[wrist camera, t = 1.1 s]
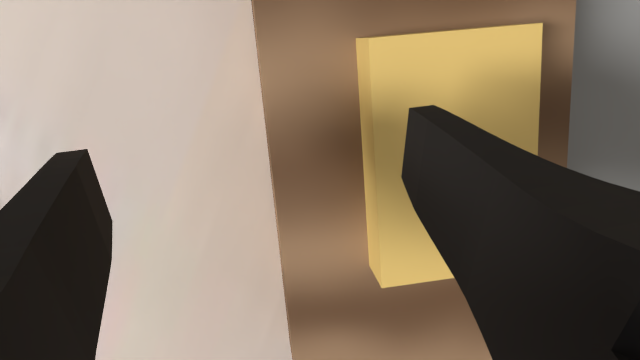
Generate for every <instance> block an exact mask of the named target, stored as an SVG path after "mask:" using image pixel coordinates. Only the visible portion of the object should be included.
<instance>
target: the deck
mask: <svg viewBox="0 0 640 360" xmlns="http://www.w3.org/2000/svg"><path fill="white" fill-rule="evenodd" d="M251 1H252V10H253V19H254V28H255V37H256V46H257V54H258V63H259V72H260V81H261V90H262V99H263V108H264V116H265V125H266V134H267V143H268V152H269V161H270V170H271V179H272V187H273V196H274V205H275V214H276V223H277V232H278V241H279V249H280V258H281V267H282V276H283V285H284V294H285V303H286V312H287V320H288V329H289V338H290V345H291V352H292V359H293V360H492V357H491V355H490V353H489V350H488V348H487V345H486V343H485V341H484V338H483V336H482V334H481V331H480V329H479V327H478V325H477V322H476V320H475V318H474V316H473V314H472V311H471V309H470V307H469V305H468V303H467V300H466V298H465V296H464V294H463V292H462V291H461V289H460V287H459V285H458V283H457V281H456V280H455V278H450V279H443V280H436V281H429V282H422V283H415V284H408V285H401V286H394V287H387V288H381V286H380V284H379V282H378V281H377V279H376V277H375V275H374V273H373V271H372V270H371V268H370V266H369V253H368V236H367V219H366V202H365V186H364V169H363V152H362V136H361V119H360V102H359V85H358V69H357V52H356V38H363V37H375V36H386V35H398V34H409V33H421V32H432V31H444V30H455V29H467V28H478V27H490V26H501V25H513V24H531V23H543V31H542V56H541V82H540V107H539V133H538V156H539V157H541V158H543V159H546V160H548V161H550V162H553V163H555V164H558V165H560V166H563V167H565V168H567V158H568V140H569V122H570V104H571V86H572V68H573V51H574V33H575V15H576V0H251Z"/></svg>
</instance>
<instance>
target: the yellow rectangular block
mask: <svg viewBox="0 0 640 360" xmlns="http://www.w3.org/2000/svg"><path fill="white" fill-rule="evenodd" d="M542 31H543V23H531V24H513V25H501V26H490V27H478V28H467V29H455V30H444V31H432V32H421V33H409V34H398V35H386V36H375V37H363V38H356V52H357V69H358V85H359V102H360V119H361V136H362V152H363V169H364V186H365V202H366V219H367V236H368V253H369V266H370V268H371V270H372V271H373V273H374V275H375V277H376V279H377V281H378V282H379V284H380V286H381V288H387V287H394V286H401V285H408V284H415V283H422V282H429V281H436V280H443V279H450V278H454V276H453V275H452V273H451V271H450V270H449V268H448V266H447V265H446V263H445V261H444V260H443V258H442V256H441V255H440V253H439V251H438V250H437V248H436V246H435V245H434V243H433V241H432V240H431V238H430V236H429V235H428V233H427V231H426V229H425V228H424V226H423V224H422V223H421V221H420V219H419V217H418V216H417V214H416V212H415V210H414V208H413V205H412V203H411V201H410V198H409V196H408V194H407V191H406V188H405V186H404V183H403V181H402V178H401V175H402V166H403V157H404V148H405V139H406V130H407V122H408V113H409V108H413V107H421V106H429V105H435V106H437V107H440V108H442V109H444V110H446V111H448V112H450V113H452V114H454V115H456V116H458V117H460V118H462V119H464V120H466V121H468V122H470V123H472V124H474V125H476V126H477V127H479V128H481V129H483V130H485V131H487V132H489V133H491V134H493V135H495V136H497V137H499V138H501V139H503V140H505V141H507V142H509V143H511V144H513V145H515V146H517V147H519V148H521V149H523V150H526V151H528V152H530V153H532V154H534V155H537V156H538V133H539V107H540V82H541V56H542Z"/></svg>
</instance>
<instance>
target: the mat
mask: <svg viewBox="0 0 640 360" xmlns="http://www.w3.org/2000/svg"><path fill="white" fill-rule="evenodd" d="M567 168H568V169H571V170H574V171H576V172H579V173H582V174H585V175H587V176H590V177H593V178H596V179H599V180H602V181H605V182H608V183H612V184H615V185H619V186H622V187H626V188H629V189H633V190H636V191H640V0H576V15H575V33H574V51H573V68H572V86H571V104H570V122H569V140H568V158H567Z"/></svg>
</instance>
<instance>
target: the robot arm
mask: <svg viewBox="0 0 640 360" xmlns="http://www.w3.org/2000/svg"><path fill="white" fill-rule="evenodd" d="M401 178H402V181H403V183H404V186H405V188H406V191H407V194H408V196H409V198H410V201H411V203H412V205H413V208H414V210H415V212H416V214H417V216H418V217H419V219H420V221H421V223H422V224H423V226H424V228H425V229H426V231H427V233H428V235H429V236H430V238H431V240H432V241H433V243H434V245H435V246H436V248H437V250H438V251H439V253H440V255H441V256H442V258H443V260H444V261H445V263H446V265H447V266H448V268H449V270H450V271H451V273H452V275H453V276H454V278H455V280H456V281H457V283H458V285H459V287H460V289H461V291H462V292H463V294H464V296H465V298H466V300H467V303H468V305H469V307H470V309H471V311H472V314H473V316H474V318H475V320H476V322H477V325H478V327H479V329H480V331H481V334H482V336H483V338H484V341H485V343H486V345H487V348H488V350H489V353H490V355H491V357H492V360H640V191H636V190H633V189H629V188H626V187H622V186H619V185H615V184H612V183H608V182H605V181H602V180H599V179H596V178H593V177H590V176H587V175H585V174H582V173H579V172H576V171H574V170H571V169H568V168H565V167H563V166H560V165H558V164H555V163H553V162H550V161H548V160H546V159H543V158H541V157H539V156H537V155H534V154H532V153H530V152H528V151H526V150H523V149H521V148H519V147H517V146H515V145H513V144H511V143H509V142H507V141H505V140H503V139H501V138H499V137H497V136H495V135H493V134H491V133H489V132H487V131H485V130H483V129H481V128H479V127H477V126H476V125H474V124H472V123H470V122H468V121H466V120H464V119H462V118H460V117H458V116H456V115H454V114H452V113H450V112H448V111H446V110H444V109H442V108H440V107H437V106H435V105H429V106H421V107H413V108H409V113H408V122H407V130H406V139H405V148H404V157H403V166H402V175H401ZM111 260H112V219H111V216H110V213H109V211H108V208H107V205H106V202H105V199H104V196H103V193H102V190H101V188H100V185H99V182H98V179H97V176H96V173H95V170H94V167H93V165H92V162H91V159H90V156H89V153H88V150H87V149H84V150H77V151H69V152H61V153H56V154H55V155H54V156H53V157H52V158H51V159H50V160H49V161H48V162H47V163H46V164H45V165H44V166H43V167H42V168H41V169H40V170H39V171H38V172H37V173H36V174H35V175H34V176H33V177H32V178H31V179H30V180H29V181H28V182H27V183H26V185H25V186H24V187H23V188H22V189H21V190H20V191H19V192H18V193H17V194H16V195H15V196H14V197H13V198H12V199H11V200H10V201H9V202H8V203H7V204H6V205H5V206H4V207H3V208H2V209H1V210H0V360H95V355H96V348H97V343H98V337H99V331H100V325H101V320H102V314H103V308H104V303H105V297H106V291H107V285H108V279H109V273H110V267H111Z"/></svg>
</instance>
